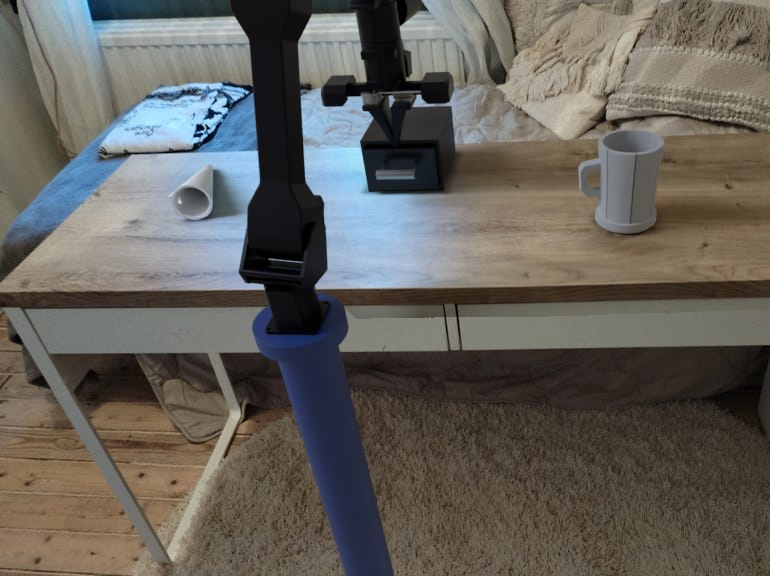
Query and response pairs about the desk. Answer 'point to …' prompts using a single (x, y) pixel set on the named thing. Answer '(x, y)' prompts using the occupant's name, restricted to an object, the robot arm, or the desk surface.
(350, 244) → the desk surface
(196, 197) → the long cone
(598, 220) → the cup
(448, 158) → the black drawer box
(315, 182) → the desk surface
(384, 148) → the open drawer with handle
